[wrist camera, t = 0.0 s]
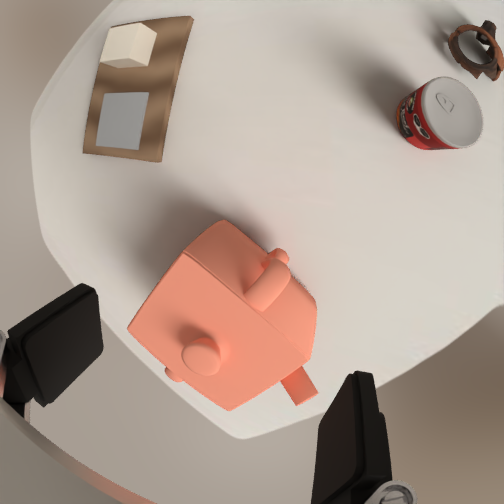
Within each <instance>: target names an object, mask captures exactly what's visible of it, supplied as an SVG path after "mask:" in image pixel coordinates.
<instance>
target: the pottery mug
mask: <svg viewBox="0 0 504 504" xmlns="http://www.w3.org/2000/svg"><path fill="white" fill-rule="evenodd" d="M469 30H472V31H476V32H477V34H476V39H477V40H478V41H480V42H481V43H482V44H485V45H489V46H490V47H489V48H488V50H487V51H486V53H487V54H488V55H489V56H490V57H491V59H492V61H491V62H490V63H488V64H481V65H480V64H477V63H474V62H472V61H471V60H469V59H468V58H467V57H466V56H465V55H464V54H463V53H462V51H461V50H460V48H459V44H458V35H459V34H461V33H463V32H464V31H469ZM495 30H496V26H495V24H494V23H492V22H490V21H487V20H485V21H484V23H483V25H482V26H481V27H478V26H475V25H468V24H467V25H462V26H460V27H458V28H457V30H456V31H455V32H454V33H451V35H450V37H449V40H448V46H449V49H450V51H451V53H452V55H453V57H454V58H455V60H456V62H457V63H460V64H461V66H462V67H463V68H464V69H466V70H467V71H469V72H470V73H471V74H472V75H473V76H474V77H475V78H476V79H478V77H479V76H480V74H481V73H482V72H484V73H485V75H487V76H488V77H490V78H491V79H492V80H493V81H495V80H497V79H498V78H499V76H500V73H501V71H503V69H504V57H503V53H502V51H501V48H500V47H499V45H498V44H497V42H496V40H495V32H496V31H495Z"/></svg>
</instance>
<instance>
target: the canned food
mask: <svg viewBox="0 0 504 504" xmlns="http://www.w3.org/2000/svg"><path fill="white" fill-rule="evenodd" d="M397 124H398V127H399V130H400V131H401V133H402V135H403V136H404V137H405V139H406V140H407V141H408V142H410V143H411V144H412V145H414V146H415V147H417V148H420V149H423V150H440V149H459V148H467V147H470V146H472V145H474V144H475V143H476V142H477V141H478V140H479V138H480V136H481V134H482V130H483V115H482V111H481V108H480V105H479V103H478V101H477V99H476V98H475V96H474V95H473V93H472V92H471V91H470V90H469V89H468V88H467V87H466V86H465V85H464V84H462V83H461V82H459V81H458V80H456V79H453V78H450V77H438V78H435V79H432V80H431V81H429V82H427V83H426V84H424V85H423V86H421V87H420V88H419V89H417V90H416V91H414V92H413V93H411V94H410V95H409V96H407V97H406V98H404V99H403V100H402V101H401V102H400V104H399V106H398V109H397Z"/></svg>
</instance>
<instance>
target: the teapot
mask: <svg viewBox="0 0 504 504" xmlns="http://www.w3.org/2000/svg"><path fill="white" fill-rule="evenodd" d="M288 261H289V257H288V255H287V253H286V252H285V251H284V250H282V249H280V248H276V249H274V250H273V251H272V252H270V253H269V254H267V253H266V252H265V251H264V250H263V249H262V248H260V247H259V246H258V245H257V244H256V243H254V242H253V241H252V240H251V239H250V238H248V237H247V236H246V235H245V234H244V233H243V232H241V231H240V230H239V229H238V228H236V227H235V226H234V225H233V224H231V223H230V222H228V221H227V220H221V221H218V222H216V223H214V224H213V225H212V226H210V227H209V228H208V229H206V230H205V231H204V232H203V233H201V234H200V235H199V236H198V237H197V238H196V239H195V240H194V241H193V242H192V243H190V244H189V245H188V246H187V247H186V248H185V249H184V250H183V251H182V252H181V253H180V255H179V256H178V257H177V258H176V260H175V261H174V262H173V263H172V265H171V266H170V267H169V269H168V270H167V271H166V273H165V274H164V275H163V277H162V278H161V279H160V281H159V282H158V284H157V285H156V286H155V288H154V289H153V290H152V292H151V293H150V295H149V296H148V297H147V299H146V300H145V302H144V303H143V304H142V306H141V307H140V309H139V310H138V312H137V313H136V315H135V316H134V318H133V319H132V321H131V322H130V324H129V325H128V327H127V330H128V331H129V332H130V333H131V335H132V336H133V337H134V338H135V339H136V340H137V341H138V342H139V343H140V344H141V345H142V346H143V347H145V348H146V349H147V350H148V351H149V352H150V353H151V354H152V355H153V356H154V357H156V358H157V359H158V360H159V361H160V362H161V363H162V364H164V365H165V366H166V368H165V373H166V375H167V376H168V377H169V378H170V379H172V380H173V381H175V382H182V381H185V382H186V383H187V384H189V385H190V386H191V387H193V388H194V389H195V390H197V391H198V392H199V393H201V394H202V395H204V396H205V397H207V398H208V399H209V400H211V401H212V402H214V403H215V404H217V405H219V406H220V407H222V408H224V409H225V410H227V411H231V410H233V409H235V408H237V407H239V406H240V405H242V404H244V403H246V402H247V401H249V400H251V399H252V398H254V397H256V396H257V395H259V394H260V393H262V392H264V391H265V390H267V389H268V388H270V387H271V386H273V385H274V384H276V383H278V382H279V381H281V383H282V385H283V386H284V388H285V389H286V391H287V392H288V394H289V396H290V397H291V399H292V400H293V402H294V403H295V405H296V406H298V405H300V404H302V403H304V402H305V401H307V400H309V399H311V398H312V397H314V396H316V395H317V394H318V391H317V390H316V388H315V386H314V385H313V383H312V381H311V380H310V378H309V377H308V375H307V373H306V372H305V370H304V368H303V367H302V365H303V364H305V363H306V362H307V361H308V360H309V359H310V357H311V353H312V348H313V342H314V336H315V329H316V318H317V307H316V302H315V299H314V298H313V297H312V296H311V295H310V293H309V292H308V291H307V290H306V289H305V288H304V287H303V286H302V285H301V284H299V283H298V282H297V281H296V280H295V279H294V278H293V277H292V276H291V273H290V270H289V268H288V267H287V265H286V264H287V263H288Z"/></svg>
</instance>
